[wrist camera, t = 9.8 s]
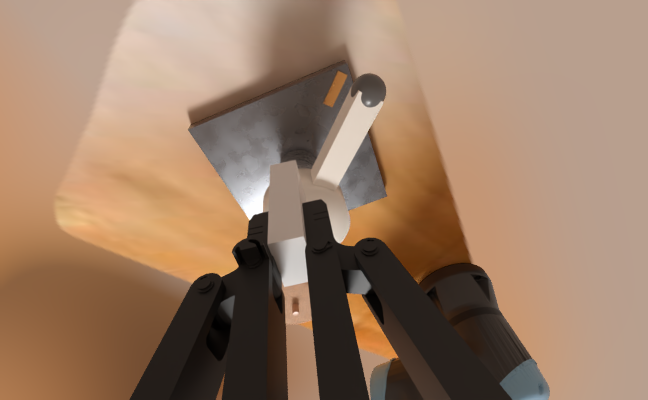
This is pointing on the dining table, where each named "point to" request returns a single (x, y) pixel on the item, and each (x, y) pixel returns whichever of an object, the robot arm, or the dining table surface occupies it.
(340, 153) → the coupling lever handle
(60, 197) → the dining table surface
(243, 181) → the base
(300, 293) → the lidded jar
